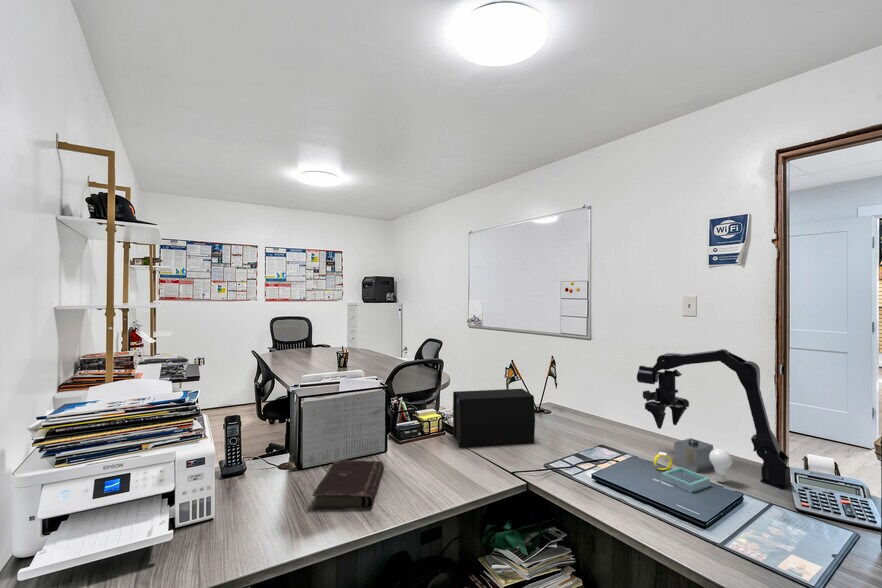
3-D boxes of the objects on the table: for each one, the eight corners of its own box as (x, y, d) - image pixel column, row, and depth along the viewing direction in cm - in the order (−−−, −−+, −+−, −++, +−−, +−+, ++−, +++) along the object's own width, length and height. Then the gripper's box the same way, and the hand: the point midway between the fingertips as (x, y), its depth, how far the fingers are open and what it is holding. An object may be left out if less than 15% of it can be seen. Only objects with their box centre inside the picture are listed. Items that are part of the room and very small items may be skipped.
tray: (710, 486, 132) (709, 478, 132) (691, 493, 127) (691, 485, 127) (680, 474, 141) (680, 466, 141) (661, 480, 136) (661, 472, 136)
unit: (713, 467, 146) (713, 442, 146) (696, 472, 142) (696, 447, 142) (690, 458, 154) (690, 435, 154) (673, 464, 149) (673, 439, 149)
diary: (384, 474, 144) (384, 460, 144) (372, 512, 119) (372, 495, 119) (331, 473, 144) (331, 459, 144) (309, 511, 119) (309, 494, 119)
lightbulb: (710, 484, 133) (710, 450, 133) (708, 476, 139) (707, 444, 139) (734, 488, 130) (733, 454, 130) (730, 480, 136) (730, 447, 136)
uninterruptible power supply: (453, 435, 181) (452, 390, 181) (524, 431, 186) (524, 387, 186) (460, 449, 165) (460, 400, 165) (538, 444, 170) (538, 396, 170)
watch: (657, 472, 143) (655, 455, 143) (652, 469, 146) (651, 452, 146) (674, 471, 143) (672, 454, 143) (669, 467, 146) (668, 451, 146)
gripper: (663, 380, 168) (663, 417, 168) (632, 384, 160) (632, 424, 160) (689, 385, 158) (689, 425, 158) (658, 390, 150) (658, 432, 150)
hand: (667, 426), depth 157 cm, fingers open, 9 cm apart
